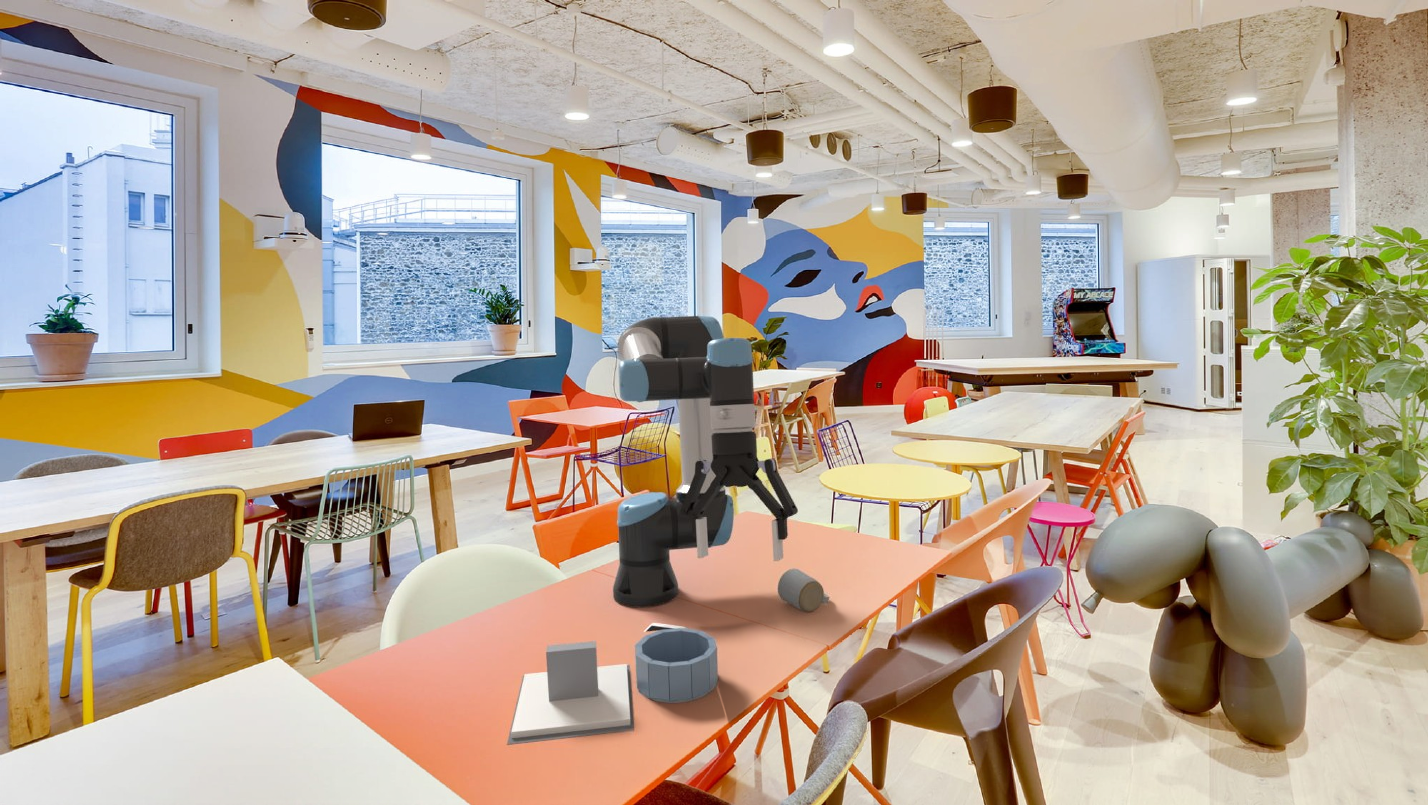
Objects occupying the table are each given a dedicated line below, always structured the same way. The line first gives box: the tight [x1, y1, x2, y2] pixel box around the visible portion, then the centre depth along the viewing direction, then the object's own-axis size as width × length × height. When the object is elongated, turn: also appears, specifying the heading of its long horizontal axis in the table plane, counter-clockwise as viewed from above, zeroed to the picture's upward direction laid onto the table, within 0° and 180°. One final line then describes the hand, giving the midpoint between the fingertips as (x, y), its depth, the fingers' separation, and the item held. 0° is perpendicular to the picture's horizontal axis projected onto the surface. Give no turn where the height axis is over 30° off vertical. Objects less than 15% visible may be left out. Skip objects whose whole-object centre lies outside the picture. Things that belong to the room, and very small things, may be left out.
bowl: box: [634, 627, 719, 704], centre depth 122 cm, size 14×14×7 cm
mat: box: [506, 664, 635, 746], centre depth 116 cm, size 21×19×1 cm
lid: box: [511, 640, 630, 738], centre depth 116 cm, size 18×18×10 cm
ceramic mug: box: [777, 568, 830, 613], centre depth 154 cm, size 11×8×8 cm
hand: (739, 558), depth 116 cm, fingers open, 13 cm apart
